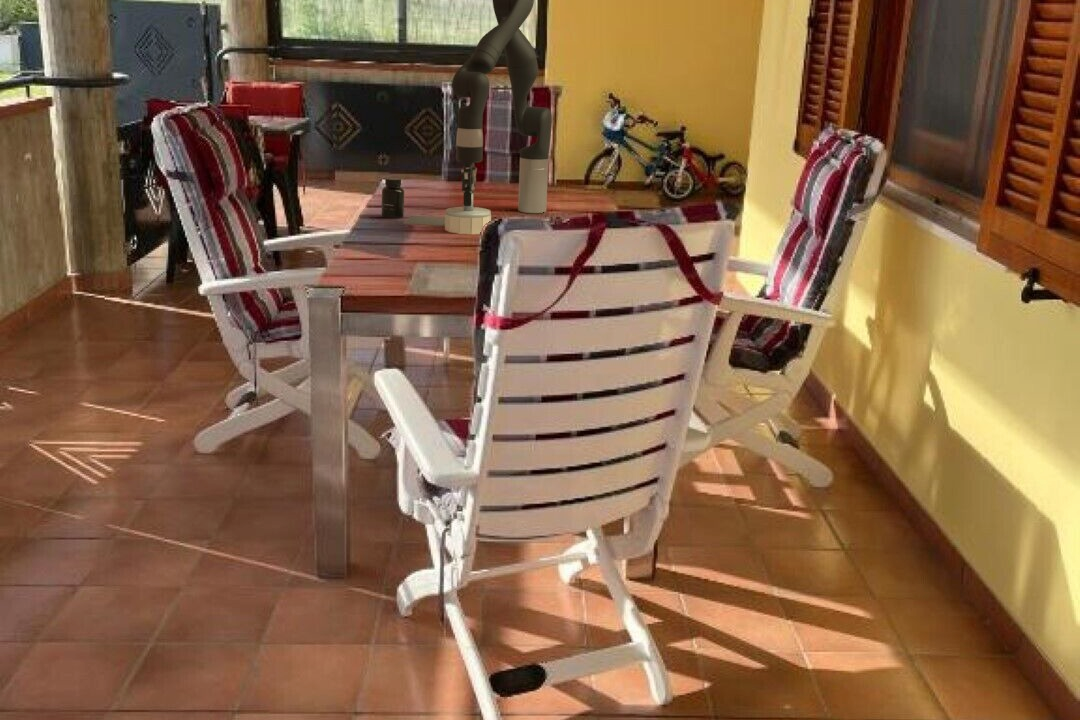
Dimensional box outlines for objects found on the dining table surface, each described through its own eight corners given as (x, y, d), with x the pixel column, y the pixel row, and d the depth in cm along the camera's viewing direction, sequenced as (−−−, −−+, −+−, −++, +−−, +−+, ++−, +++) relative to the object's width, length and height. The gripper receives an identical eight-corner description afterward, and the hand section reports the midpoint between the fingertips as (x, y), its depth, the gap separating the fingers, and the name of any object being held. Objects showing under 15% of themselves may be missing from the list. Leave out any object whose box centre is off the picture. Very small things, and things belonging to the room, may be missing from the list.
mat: (410, 217, 325) (410, 215, 325) (455, 219, 324) (455, 218, 324) (402, 225, 311) (402, 223, 311) (449, 227, 311) (449, 226, 311)
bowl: (448, 225, 313) (449, 209, 312) (492, 228, 313) (492, 211, 311) (442, 234, 301) (442, 216, 299) (487, 236, 300) (488, 219, 299)
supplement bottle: (383, 220, 318) (382, 180, 314) (380, 216, 324) (380, 176, 321) (405, 219, 320) (405, 180, 316) (402, 215, 326) (402, 177, 323)
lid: (449, 209, 312) (449, 188, 310) (492, 211, 311) (493, 191, 309) (442, 216, 299) (442, 195, 298) (488, 218, 299) (488, 197, 297)
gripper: (479, 147, 292) (478, 209, 297) (485, 142, 306) (484, 201, 311) (453, 146, 293) (452, 208, 298) (459, 141, 306) (458, 200, 311)
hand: (468, 204), depth 304 cm, fingers open, 4 cm apart
